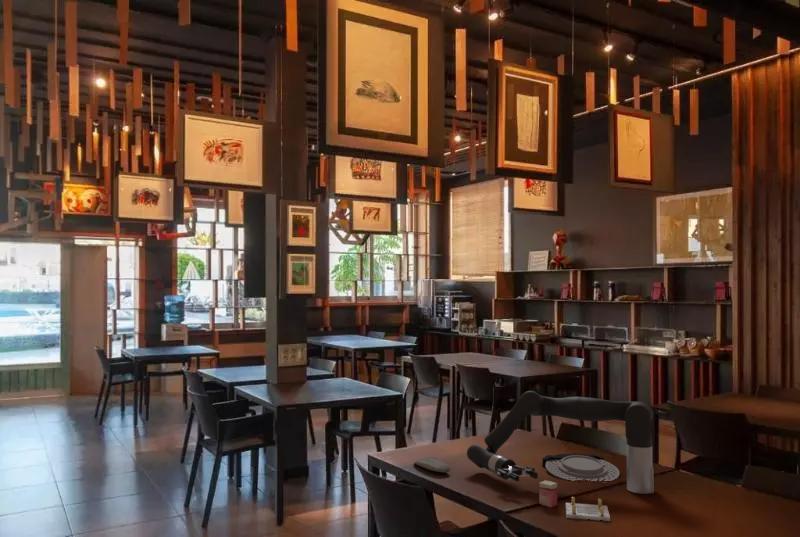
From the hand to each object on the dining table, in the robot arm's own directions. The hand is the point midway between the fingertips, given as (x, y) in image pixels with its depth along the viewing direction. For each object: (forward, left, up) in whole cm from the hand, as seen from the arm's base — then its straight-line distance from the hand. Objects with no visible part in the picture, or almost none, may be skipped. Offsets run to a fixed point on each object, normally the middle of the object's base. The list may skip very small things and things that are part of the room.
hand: (527, 477), depth 241 cm
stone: (+37, -29, -5) cm, 47 cm away
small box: (-7, +9, -7) cm, 13 cm away
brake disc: (-21, -38, -7) cm, 44 cm away
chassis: (-20, +15, -7) cm, 26 cm away
